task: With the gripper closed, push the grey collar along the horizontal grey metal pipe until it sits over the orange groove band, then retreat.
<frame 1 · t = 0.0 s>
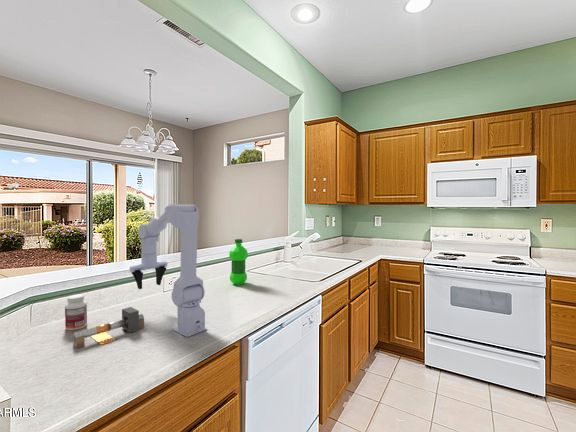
hand: (149, 286, 118), 10 cm above the worktop, fingers open, 7 cm apart
collar: (130, 319, 99), point 4 cm above the worktop, slide at 0.0 cm
plastic bottle: (238, 284, 161), on the worktop
rail: (111, 335, 95), on the worktop
pill bottle: (76, 327, 101), on the worktop
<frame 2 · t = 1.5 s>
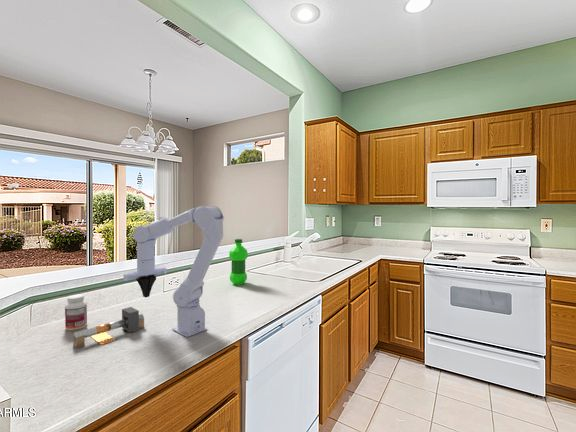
hand: (146, 296, 104), 10 cm above the worktop, fingers closed
nothing on the worktop moved.
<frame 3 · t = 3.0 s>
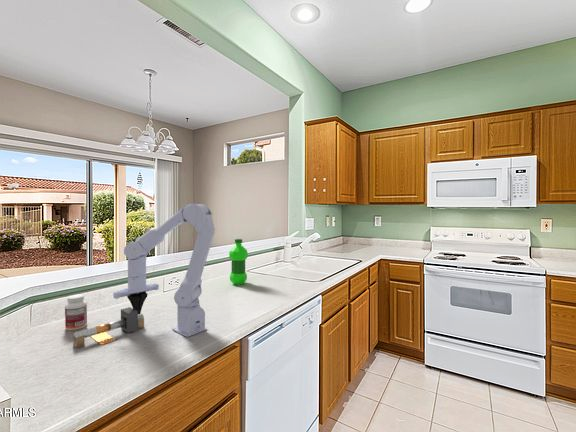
hand: (137, 313, 101), 5 cm above the worktop, fingers closed
collar: (129, 319, 99), point 4 cm above the worktop, slide at 0.4 cm, touching gripper
everything else where it was.
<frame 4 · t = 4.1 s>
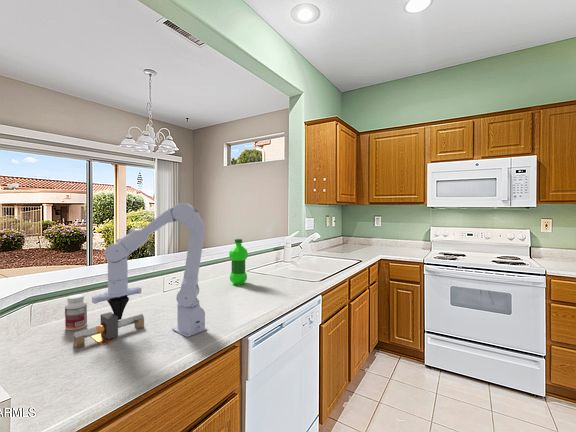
hand: (118, 319, 96), 5 cm above the worktop, fingers closed
collar: (109, 325, 94), point 4 cm above the worktop, slide at 6.6 cm, touching gripper
everything else where it was.
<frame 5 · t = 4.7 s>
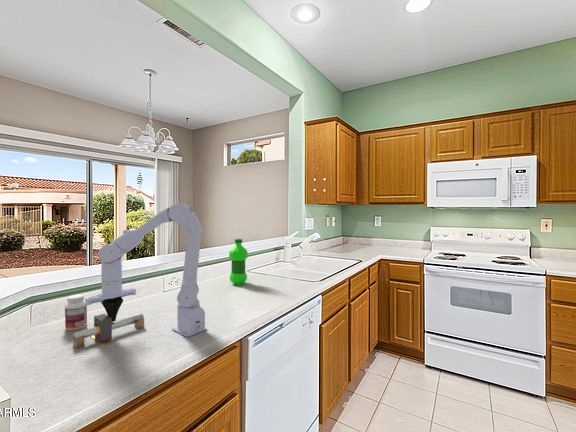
hand: (112, 320, 95), 5 cm above the worktop, fingers closed
collar: (102, 327, 93), point 4 cm above the worktop, slide at 8.5 cm, touching gripper
everything else where it was.
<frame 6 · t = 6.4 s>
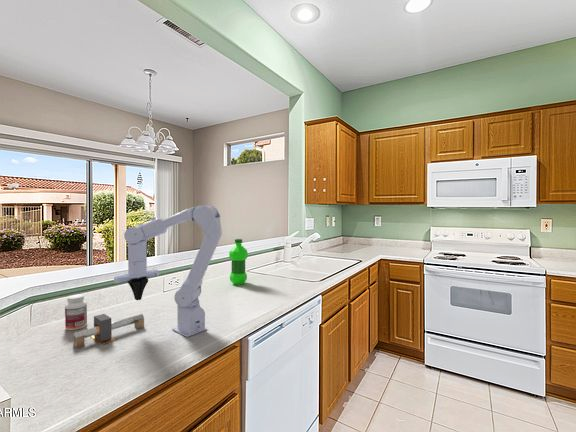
hand: (138, 299, 101), 10 cm above the worktop, fingers closed
collar: (102, 327, 93), point 4 cm above the worktop, slide at 8.5 cm
everything else where it was.
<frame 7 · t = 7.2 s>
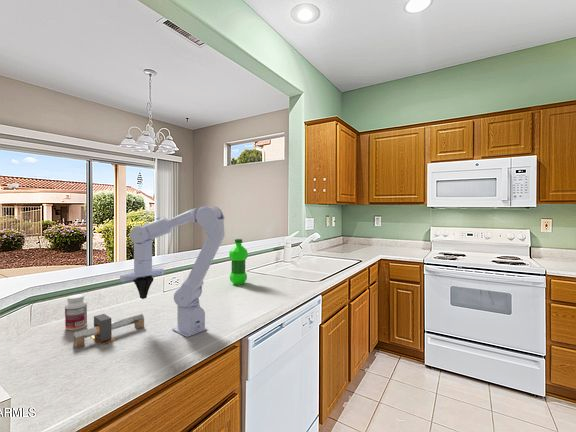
hand: (143, 298, 102), 10 cm above the worktop, fingers closed
nothing on the worktop moved.
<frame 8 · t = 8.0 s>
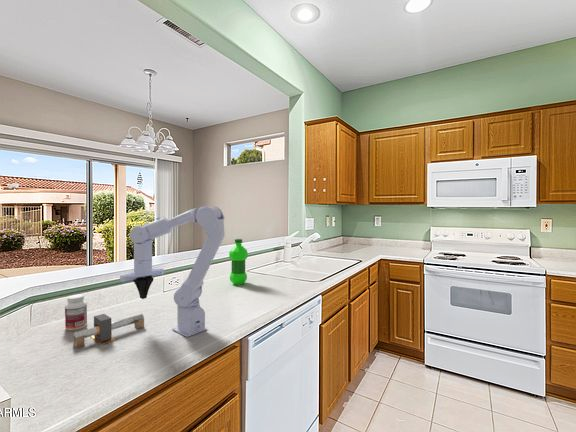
hand: (143, 298, 102), 10 cm above the worktop, fingers closed
nothing on the worktop moved.
at the end: collar slide at 8.5 cm; the gripper is holding nothing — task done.
